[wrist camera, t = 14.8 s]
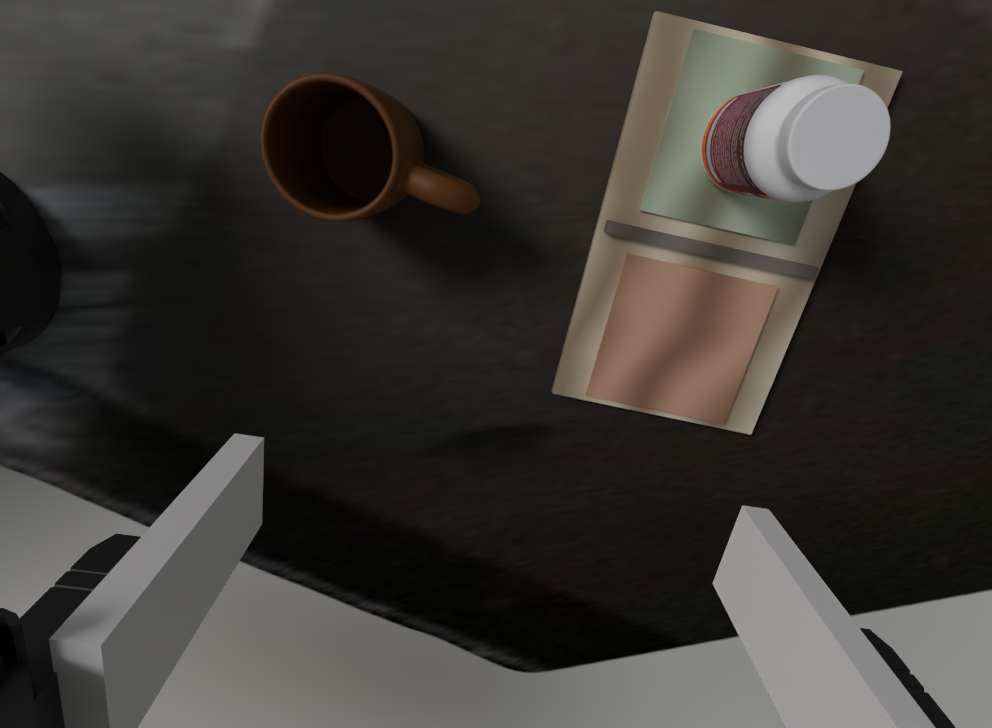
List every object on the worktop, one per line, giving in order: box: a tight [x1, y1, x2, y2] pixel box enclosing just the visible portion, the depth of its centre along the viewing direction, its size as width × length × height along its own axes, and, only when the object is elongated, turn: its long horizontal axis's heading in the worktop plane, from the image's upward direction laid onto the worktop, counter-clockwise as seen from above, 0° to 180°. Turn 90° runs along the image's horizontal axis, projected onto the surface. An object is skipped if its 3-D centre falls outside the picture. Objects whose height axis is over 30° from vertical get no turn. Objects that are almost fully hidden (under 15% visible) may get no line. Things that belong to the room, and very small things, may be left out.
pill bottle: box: [700, 75, 890, 202], centre depth 31 cm, size 6×6×11 cm
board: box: [552, 11, 903, 435], centre depth 39 cm, size 16×26×1 cm, turn 168°
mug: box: [261, 73, 480, 222], centre depth 34 cm, size 12×8×9 cm, turn 69°
